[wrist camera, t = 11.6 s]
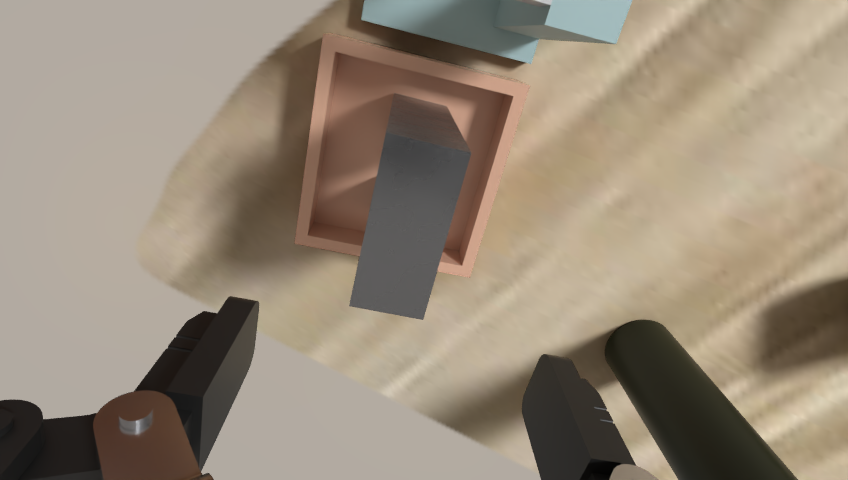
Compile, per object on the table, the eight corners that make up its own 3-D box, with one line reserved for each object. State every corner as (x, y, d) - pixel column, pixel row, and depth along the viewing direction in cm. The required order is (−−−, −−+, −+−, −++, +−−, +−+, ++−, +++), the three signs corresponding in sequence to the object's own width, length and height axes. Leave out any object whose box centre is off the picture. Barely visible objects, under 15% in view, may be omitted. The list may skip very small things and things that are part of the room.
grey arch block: (394, 92, 31) (386, 132, 19) (446, 106, 31) (471, 153, 19) (369, 209, 34) (349, 306, 22) (417, 219, 34) (422, 319, 22)
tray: (331, 33, 30) (323, 33, 27) (518, 80, 31) (530, 85, 28) (304, 225, 35) (294, 243, 32) (464, 257, 37) (469, 277, 34)
